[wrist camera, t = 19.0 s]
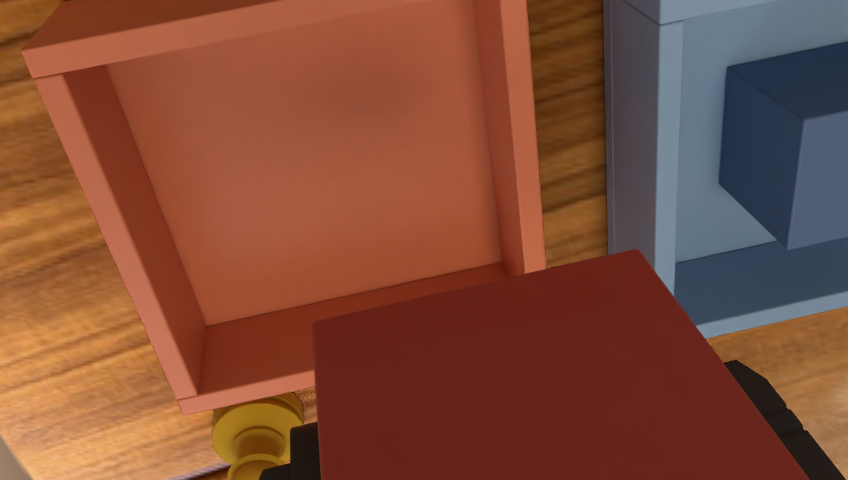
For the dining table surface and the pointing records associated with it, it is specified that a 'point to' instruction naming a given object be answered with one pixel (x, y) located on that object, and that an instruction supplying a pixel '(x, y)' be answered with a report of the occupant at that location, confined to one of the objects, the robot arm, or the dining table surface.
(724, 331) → the blue bin
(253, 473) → the chess piece
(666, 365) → the red block
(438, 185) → the red bin
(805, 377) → the dining table surface
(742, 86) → the blue block
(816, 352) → the dining table surface
